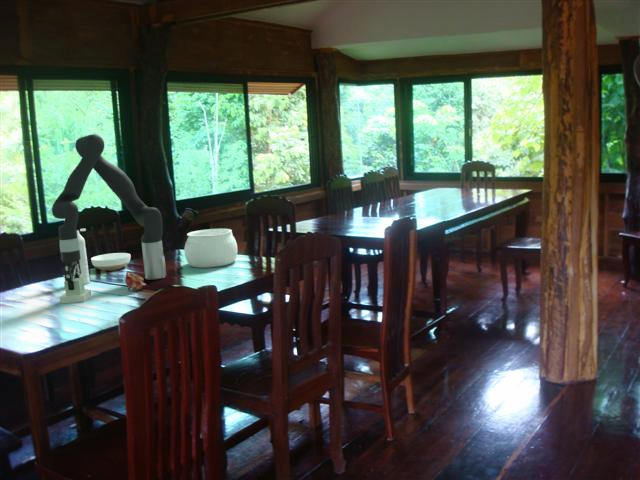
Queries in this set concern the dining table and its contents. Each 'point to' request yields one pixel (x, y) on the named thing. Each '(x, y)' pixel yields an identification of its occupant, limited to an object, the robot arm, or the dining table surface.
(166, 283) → the dining table surface
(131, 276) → the flower
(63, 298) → the trivet
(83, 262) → the white bottle
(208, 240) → the pot
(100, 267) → the bowl
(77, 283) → the green cube
